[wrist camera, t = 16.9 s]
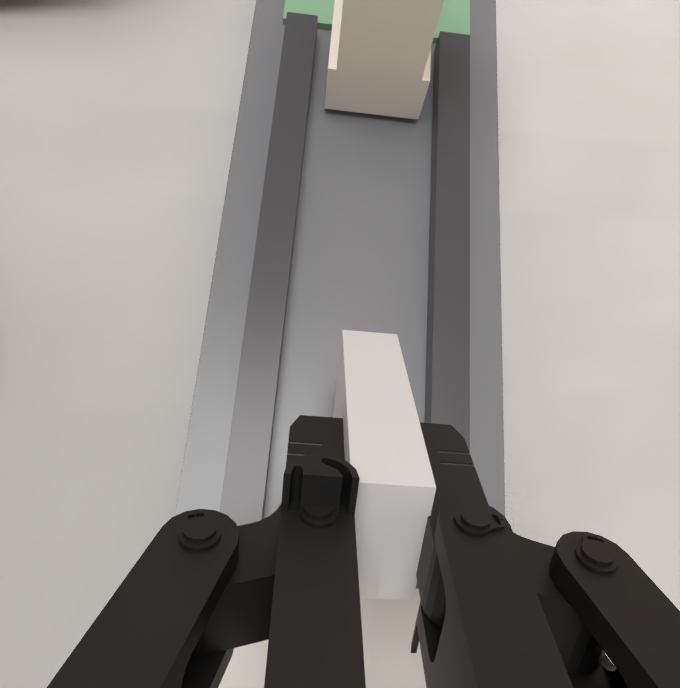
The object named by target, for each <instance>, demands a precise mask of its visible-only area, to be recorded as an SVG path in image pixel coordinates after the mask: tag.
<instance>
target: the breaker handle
mask: <svg viewBox="0 0 680 688" xmlns="http://www.w3.org/2000/svg"><path fill="white" fill-rule="evenodd" d="M443 3H444V0H335V3H334V13H333V23H332V32H331V42H330V52H329V62H328V73H327V84H326V96H325V107H324V109H333V110H341V111H350V112H358V113H367V114H375V115H383V116H392V117H400V118H409V119H417V120H418V119H419V116H420V113H421V109H422V106H423V103H424V99H425V96H426V93H427V89H428V86H429V83H430V65H431V45H432V42H433V38H434V35H435V31H436V28H437V24H438V21H439V17H440V13H441V10H442V6H443Z"/></svg>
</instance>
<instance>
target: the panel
mask: <svg viewBox="0 0 680 688" xmlns="http://www.w3.org/2000/svg"><path fill="white" fill-rule="evenodd" d="M334 3H335V0H256V6H255V12H254V19H253V25H252V31H251V38H250V44H249V50H248V57H247V63H246V69H245V75H244V82H243V88H242V94H241V101H240V107H239V113H238V120H237V126H236V132H235V138H234V145H233V151H232V157H231V164H230V170H229V176H228V183H227V189H226V195H225V202H224V208H223V214H222V220H221V227H220V233H219V239H218V246H217V252H216V258H215V265H214V271H213V277H212V283H211V290H210V296H209V302H208V309H207V315H206V321H205V328H204V334H203V340H202V346H201V353H200V359H199V365H198V372H197V378H196V384H195V391H194V397H193V403H192V409H191V416H190V422H189V428H188V435H187V441H186V447H185V454H184V460H183V466H182V472H181V479H180V485H179V491H178V498H177V504H176V510H175V516H176V515H178V514H181V513H183V512H185V511H190V510H196V509H208V510H216V511H218V512H221V513H223V514H226V515H228V516H229V517H230V518H231V519H232V520H233V521H234V522H235V523H236V525H237V526H239V525H245V524H250V523H254V522H257V521H260V520H262V519H264V518H267V517H269V516H270V515H271V514H272V513H274V512H275V511H276V510H277V509H278V507H279V506H280V504H281V502H282V490H283V477H284V472H285V469H286V460H287V450H288V440H289V430H290V426H291V425H292V424H293V422H294V421H295V420H296V419H297V418H298V417H299V416H300V415H307V416H320V417H333V410H334V401H335V392H336V383H337V374H338V365H339V356H340V347H341V338H342V330H352V331H363V332H375V333H387V334H397V336H398V340H399V343H400V347H401V351H402V355H403V359H404V363H405V367H406V371H407V375H408V379H409V383H410V387H411V391H412V394H413V398H414V402H415V406H416V410H417V414H418V418H419V422H421V423H434V424H447V425H452V426H453V427H454V428H455V429H456V430H457V431H458V432H459V433H460V434H461V435H462V436H463V437H464V438H465V441H466V444H467V447H468V449H469V455H471V458H472V461H473V463H474V467H475V469H476V472H477V474H478V477H479V480H480V483H481V485H482V488H483V491H484V494H485V496H486V499H487V502H488V505H489V506H491V507H493V508H495V509H496V510H497V511H498V512H500V513H501V514H502V515H504V517H505V488H504V433H503V378H502V323H501V268H500V213H499V158H498V103H497V48H496V0H444V3H443V6H442V10H441V13H440V17H439V21H438V24H437V28H436V31H435V35H434V38H433V42H432V45H431V65H430V83H429V86H428V89H427V93H426V96H425V99H424V103H423V106H422V109H421V113H420V116H419V119H418V120H417V119H409V118H400V117H392V116H383V115H375V114H367V113H358V112H350V111H341V110H333V109H324V107H325V96H326V84H327V73H328V62H329V52H330V42H331V32H332V23H333V13H334ZM419 605H420V594H419V589H418V583H417V584H416V589H415V594H414V598H413V601H407V600H390V599H373V598H360V607H361V622H362V637H363V653H364V668H365V683H366V688H427V687H426V681H425V674H424V668H423V662H422V655H421V649H420V642H419V644H418V648H417V653H411V642H412V638H413V633H414V628H415V623H416V619H417V614H418V609H419ZM268 641H269V640H265V641H261V642H257V643H253V644H249V645H245V646H241V647H237V648H234V650H233V655H232V657H231V660H230V662H229V664H228V666H227V669H226V671H225V673H224V676H223V678H222V680H221V682H220V685H219V687H218V688H264V683H265V672H266V662H267V651H268Z"/></svg>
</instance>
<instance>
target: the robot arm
mask: <svg viewBox="0 0 680 688" xmlns="http://www.w3.org/2000/svg"><path fill="white" fill-rule="evenodd" d="M417 583H418V589H419V594H420V605H419V609H418V614H417V619H416V623H415V628H414V633H413V638H412V642H411V653H417V648H418V644H419V642H420V649H421V655H422V662H423V668H424V674H425V681H426V687H427V688H680V611H679V610H678V609H677V608H676V607H675V606H674V604H673V603H672V602H671V601H670V600H669V599H668V598H667V597H666V596H665V594H664V593H663V592H662V591H661V590H660V589H659V588H658V587H657V586H656V585H655V583H654V582H653V581H652V580H651V579H650V578H649V577H648V576H647V575H646V574H645V572H644V571H643V570H642V569H641V568H640V567H639V566H638V565H637V564H636V562H635V561H634V560H633V559H632V558H631V557H630V556H629V555H628V554H627V553H626V552H625V551H624V550H623V549H621V548H620V547H619V546H618V545H617V544H615V543H613V542H612V541H610V540H608V539H606V538H604V537H602V536H599V535H596V534H592V533H589V532H571V533H567V534H564V535H563V536H562V537H561V538H560V539H559V540H558V542H557V544H556V547H552V546H549V545H546V544H542V543H539V542H535V541H532V540H529V539H526V538H524V537H521V536H519V535H517V534H515V533H513V531H512V529H511V526H510V524H509V523H508V521H507V520H506V518H505V517H504V515H502V514H501V513H500V512H498V511H497V510H496V509H495V508H493V507H491V506H489V505H488V502H487V499H486V496H485V494H484V491H483V488H482V485H481V483H480V480H479V477H478V474H477V472H476V469H475V467H474V463H473V461H472V458H471V455H469V449H468V447H467V444H466V441H465V438H464V437H463V436H462V435H461V434H460V433H459V432H458V431H457V430H456V429H455V428H454V427H453V426H452V425H447V424H434V423H421V422H419V418H418V414H417V410H416V406H415V402H414V398H413V394H412V391H411V387H410V383H409V379H408V375H407V371H406V367H405V363H404V359H403V355H402V351H401V347H400V343H399V340H398V336H397V334H387V333H375V332H363V331H352V330H342V338H341V347H340V356H339V365H338V374H337V383H336V392H335V401H334V410H333V417H320V416H307V415H300V416H299V417H298V418H297V419H296V420H295V421H294V422H293V424H292V425H291V426H290V430H289V440H288V450H287V460H286V469H285V472H284V477H283V490H282V502H281V504H280V506H279V507H278V509H277V510H276V511H275V512H274V513H272V514H271V515H270V516H269V517H267V518H264V519H262V520H260V521H257V522H254V523H250V524H245V525H239V526H237V525H236V523H235V522H234V521H233V520H232V519H231V518H230V517H229V516H228V515H226V514H223V513H221V512H218V511H216V510H208V509H196V510H190V511H185V512H183V513H181V514H178V515H176V516H174V517H172V518H171V519H170V520H169V521H168V522H167V523H166V524H165V525H164V526H162V528H161V529H160V531H159V532H158V533H157V535H156V536H155V538H154V539H153V540H152V542H151V543H150V545H149V546H148V547H147V549H146V550H145V552H144V553H143V554H142V556H141V557H140V559H139V560H138V561H137V563H136V564H135V565H134V567H133V568H132V570H131V571H130V572H129V574H128V575H127V577H126V578H125V579H124V581H123V582H122V584H121V585H120V586H119V588H118V589H117V591H116V592H115V593H114V595H113V596H112V598H111V599H110V600H109V602H108V603H107V604H106V606H105V607H104V609H103V610H102V611H101V613H100V614H99V616H98V617H97V618H96V620H95V621H94V623H93V624H92V625H91V627H90V628H89V630H88V631H87V632H86V634H85V635H84V637H83V638H82V639H81V641H80V642H79V644H78V645H77V646H76V648H75V649H74V650H73V652H72V653H71V655H70V656H69V657H68V659H67V660H66V662H65V663H64V664H63V666H62V667H61V669H60V670H59V671H58V673H57V674H56V676H55V677H54V678H53V680H52V681H51V683H50V684H49V685H48V687H47V688H218V687H219V685H220V682H221V680H222V678H223V676H224V673H225V671H226V669H227V666H228V664H229V662H230V660H231V657H232V655H233V650H234V648H237V647H241V646H245V645H249V644H253V643H257V642H261V641H265V640H269V641H268V651H267V662H266V672H265V683H264V688H366V683H365V668H364V653H363V637H362V622H361V607H360V598H373V599H390V600H407V601H413V598H414V594H415V589H416V584H417ZM605 653H606V654H607V656H608V657H609V659H610V660H611V661H612V663H613V664H614V665H615V666H614V665H613V664H612V663H611V662H610V660H609V659H608V658H607V656H606V655H605Z"/></svg>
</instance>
